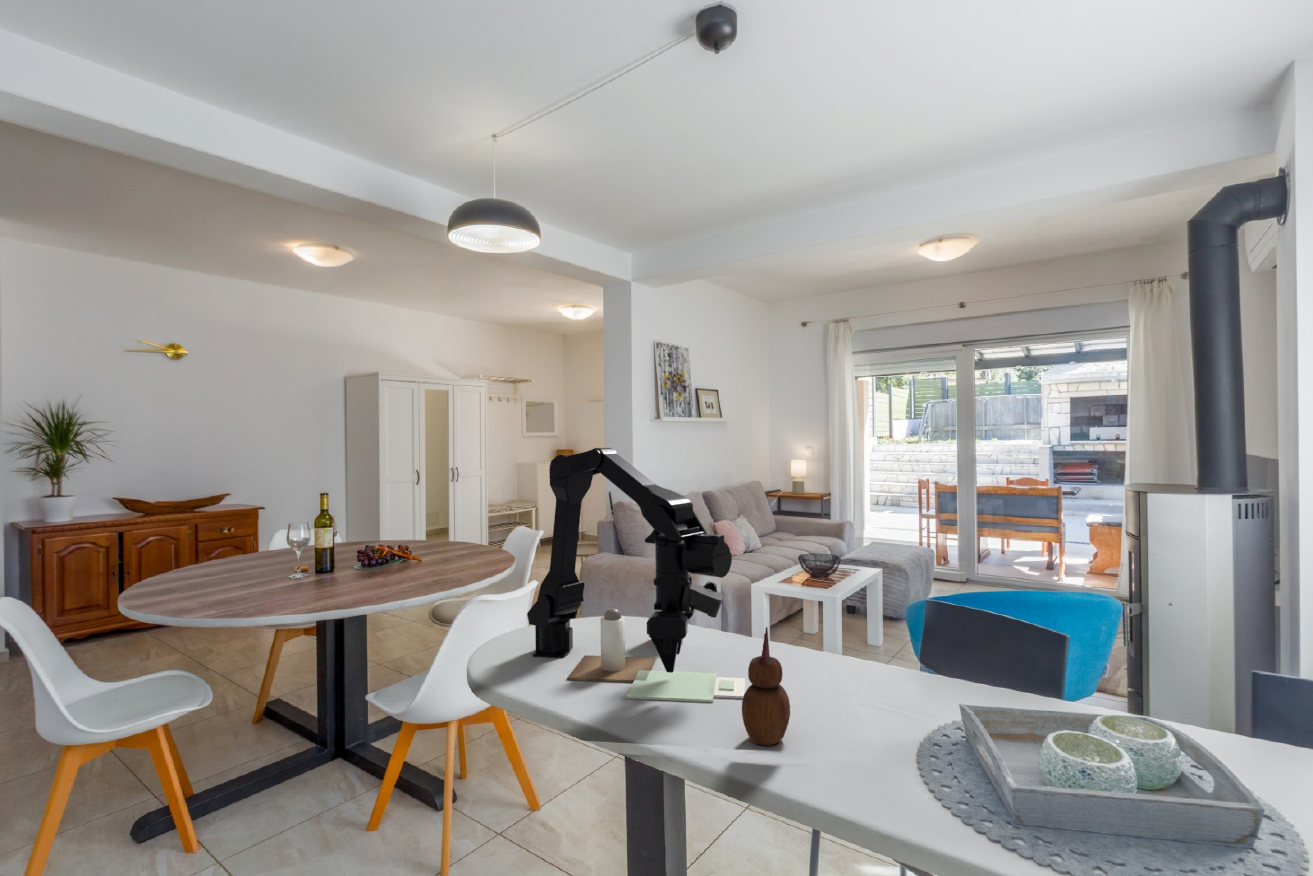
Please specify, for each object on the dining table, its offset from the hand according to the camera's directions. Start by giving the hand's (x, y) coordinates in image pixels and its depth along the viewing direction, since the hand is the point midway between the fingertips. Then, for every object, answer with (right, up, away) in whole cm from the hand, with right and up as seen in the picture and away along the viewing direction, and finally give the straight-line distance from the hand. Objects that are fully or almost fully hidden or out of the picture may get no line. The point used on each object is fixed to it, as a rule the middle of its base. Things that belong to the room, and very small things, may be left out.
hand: (673, 662), depth 108 cm
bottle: (-11, -4, +9) cm, 14 cm away
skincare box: (-1, -5, +24) cm, 25 cm away
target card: (+9, -4, -1) cm, 10 cm away
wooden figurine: (+12, -4, -20) cm, 24 cm away
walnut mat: (-11, -4, +9) cm, 14 cm away
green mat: (0, -4, 0) cm, 4 cm away
